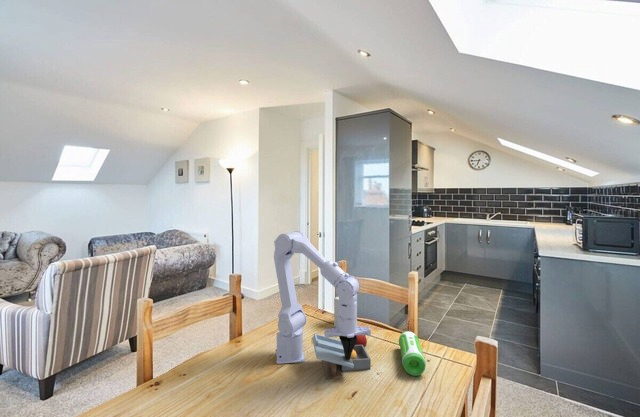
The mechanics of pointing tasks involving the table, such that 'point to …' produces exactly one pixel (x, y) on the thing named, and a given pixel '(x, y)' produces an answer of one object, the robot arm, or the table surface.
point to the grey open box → (359, 360)
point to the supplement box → (336, 312)
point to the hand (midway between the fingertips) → (347, 358)
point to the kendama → (361, 340)
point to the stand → (332, 370)
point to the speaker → (411, 353)
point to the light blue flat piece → (330, 350)
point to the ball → (353, 355)
